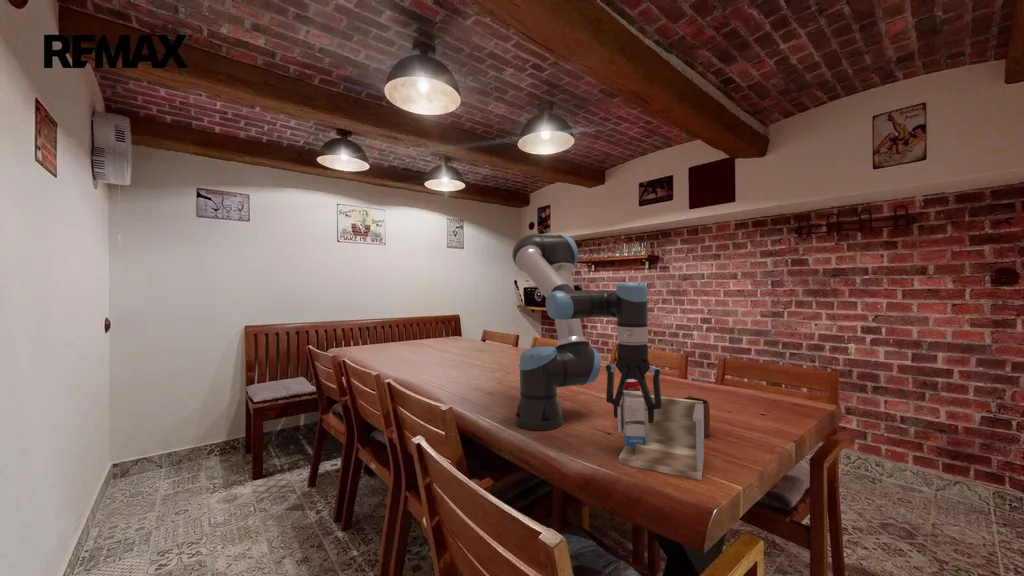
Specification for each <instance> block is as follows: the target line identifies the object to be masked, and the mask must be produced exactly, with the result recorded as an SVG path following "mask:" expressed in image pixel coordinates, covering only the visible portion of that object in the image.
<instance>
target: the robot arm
mask: <svg viewBox="0 0 1024 576" xmlns="http://www.w3.org/2000/svg"><path fill="white" fill-rule="evenodd" d="M511 254H512V260H513V263H514V264H515V266H516V267H517V268H518V270H520V271H522V272H525V273H526V275H527V277H529V279H531V281H532V282H533V283H534V284H535V286H536V287H537V288H538V290H539V291H540V292H541V293H542V295H543V296H544V297H545V310H546V313H547V315H548V317H549V318H551V319H553V320H554V325H555V329H556V334H557V340H558V341H557V343H556V345H555V346H554V347H553V346H548V345H547V346H537V347H531V348H529V349H526V350H524V351H523V352H522V353H520V355H519V357H520V358H519V365H518V366H519V367H518V369H519V390H520V397H519V400H518V405H517V407H516V411H515V414H514V415H515V416H514V418H515V419H514V423H515V425H516V426H518V427H519V428H522V429H525V430H530V431H549V430H550V431H551V430H554V429H557V428H559V427H560V426H562V425H563V424H564V423H563V421H564V420H563V417H564V416H563V412H562V409H561V406H560V404H559V400H558V394H557V393H558V392H557V391H558V390H557V389H558V388H562V387H573V386H584V385H589V384H592V383H594V382H596V381H597V379H598V377H599V375H600V373H601V369H602V367H601V366H602V363H601V357H600V354H599V352H598V350H597V349H596V348H593V347H591V344H590V341H589V340H588V339H586V338H585V336H584V331H583V328H582V321H581V319H590V318H591V319H595V318H598V319H599V318H614V319H615V318H616V333H617V334H616V339H617V341H618V344H617V346H616V347H617V351H616V352H617V356H616V357H617V358H616V359H617V360H616V361H615V363H608V364H606V365H605V370H606V373H607V376H606V396H605V397H606V398H605V399H606V402H607V404H608V403H610V404H611V405H612V406H613V417H614V418H615V419H617V432H618V433H620V434H621V433H623V404H621V397H622V394H623V391H624V388H625V384H626V381H627V379H634V380H638V383H639V384H640V391H641V393H642V394H643V396H644V399H645V402H646V405H647V408H646V409H645V437H648V436H649V434H650V423H653V421H654V410H655V409H660V407H661V405H662V403H661V397H662V392H661V380H660V375H661V373H662V368H661V367H655V366H652V365H651V364H650V360H649V345H648V344H647V343H648V341H649V327H648V320H649V318H648V316H649V315H648V309H649V307H648V303H649V302H648V300H649V297H648V289H647V285H646V284H645V283H644V282H619V283H618V284H617V285H616V290H610V289H599V290H575V286H574V281H573V277H572V272H573V270H574V269H575V265H576V264H577V262H578V258H579V257H578V255H579V252H578V246H577V243H576V242H575V241H574V239H573V238H572V237H570V236H568V235H562V234H537V233H535V234H527V235H525V236H522V237H521V238H520V239H518V240H517V241H516V243H514V246H513V249H512V253H511ZM617 370H618V371H619V373H620V374H621V376H620V378H619V379H620V380H619V384H618V386H617V390H616V394H615V395H614V389H615V388H614V387H615V372H616V371H617ZM648 372H650V376H652V384H653V396H654V399H655V403H653V401H652V398H651V393H650V390H649V387H648V383H647V379H646V376H645V375H646V374H647V373H648ZM614 396H615V397H614Z"/></svg>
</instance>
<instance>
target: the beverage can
mask: <svg viewBox="0 0 1024 576" xmlns="http://www.w3.org/2000/svg"><path fill="white" fill-rule="evenodd" d="M624 390H627V391H640V392H641V387H640V384H639V383H638V380H634V379H627V381H626V384H625V388H624ZM620 404H623V394H622V397H621V400H620Z"/></svg>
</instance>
